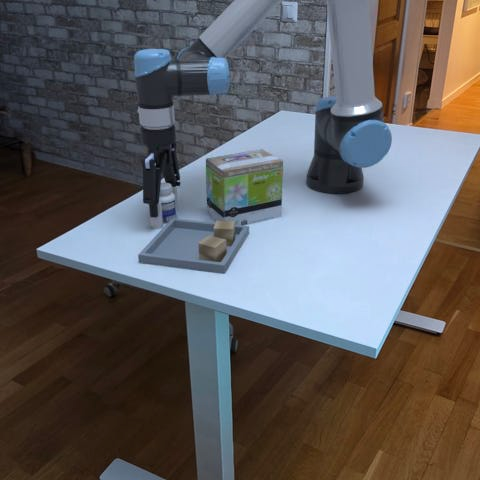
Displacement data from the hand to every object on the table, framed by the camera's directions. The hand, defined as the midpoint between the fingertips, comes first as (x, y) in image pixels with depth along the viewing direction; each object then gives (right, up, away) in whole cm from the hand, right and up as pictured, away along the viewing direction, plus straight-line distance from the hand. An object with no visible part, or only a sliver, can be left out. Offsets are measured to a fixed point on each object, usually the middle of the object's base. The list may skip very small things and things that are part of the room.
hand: (164, 220), depth 132 cm
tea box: (+19, 0, +1) cm, 19 cm away
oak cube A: (+14, -5, -11) cm, 19 cm away
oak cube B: (+12, -8, -18) cm, 23 cm away
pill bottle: (0, 0, 0) cm, 1 cm away
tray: (+8, -7, -13) cm, 17 cm away
